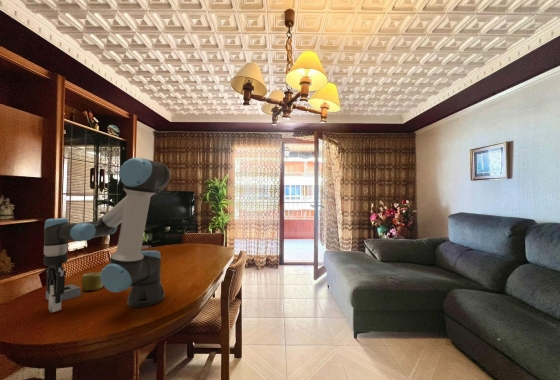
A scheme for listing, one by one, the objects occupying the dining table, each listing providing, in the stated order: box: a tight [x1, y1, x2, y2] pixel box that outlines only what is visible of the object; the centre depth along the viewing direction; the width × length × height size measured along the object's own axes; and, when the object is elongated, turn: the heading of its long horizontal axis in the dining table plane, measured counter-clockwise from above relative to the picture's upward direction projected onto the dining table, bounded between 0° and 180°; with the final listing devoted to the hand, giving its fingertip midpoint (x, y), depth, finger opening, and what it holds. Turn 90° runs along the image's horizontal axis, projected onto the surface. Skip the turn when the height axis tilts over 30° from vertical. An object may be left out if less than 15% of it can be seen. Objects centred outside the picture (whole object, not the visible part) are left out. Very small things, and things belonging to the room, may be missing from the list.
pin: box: [49, 285, 60, 313], centre depth 104 cm, size 3×3×11 cm
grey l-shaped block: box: [45, 283, 82, 302], centre depth 120 cm, size 18×10×10 cm, turn 60°
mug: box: [81, 271, 104, 292], centre depth 130 cm, size 12×10×10 cm
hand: (54, 309), depth 104 cm, fingers closed on pin, 3 cm apart
